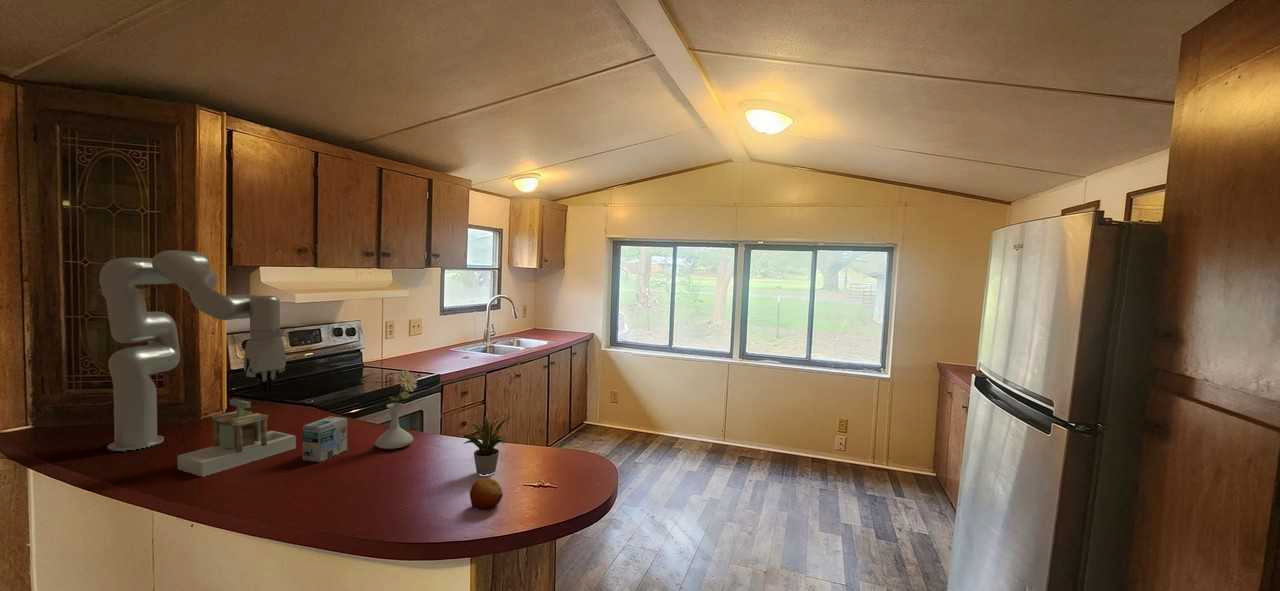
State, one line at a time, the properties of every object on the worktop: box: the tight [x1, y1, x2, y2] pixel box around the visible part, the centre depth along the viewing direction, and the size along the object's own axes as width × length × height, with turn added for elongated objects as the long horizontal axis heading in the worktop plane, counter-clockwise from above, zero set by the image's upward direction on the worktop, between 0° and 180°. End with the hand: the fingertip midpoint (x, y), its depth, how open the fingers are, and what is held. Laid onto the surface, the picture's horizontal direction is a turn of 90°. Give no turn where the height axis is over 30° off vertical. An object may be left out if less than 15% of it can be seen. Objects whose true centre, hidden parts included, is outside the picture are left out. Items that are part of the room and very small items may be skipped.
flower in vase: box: [374, 369, 418, 450], centre depth 162 cm, size 13×11×25 cm
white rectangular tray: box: [177, 430, 297, 478], centre depth 148 cm, size 12×25×4 cm, turn 158°
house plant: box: [459, 416, 511, 475], centre depth 143 cm, size 14×14×16 cm
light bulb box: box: [302, 415, 348, 463], centre depth 152 cm, size 11×7×11 cm, turn 168°
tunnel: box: [211, 409, 269, 452], centre depth 148 cm, size 13×8×9 cm, turn 68°
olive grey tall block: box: [220, 398, 261, 449], centre depth 148 cm, size 8×7×13 cm
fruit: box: [469, 477, 503, 511], centre depth 122 cm, size 8×8×8 cm
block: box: [235, 425, 255, 449], centre depth 148 cm, size 5×5×5 cm
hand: (266, 392), depth 154 cm, fingers closed
